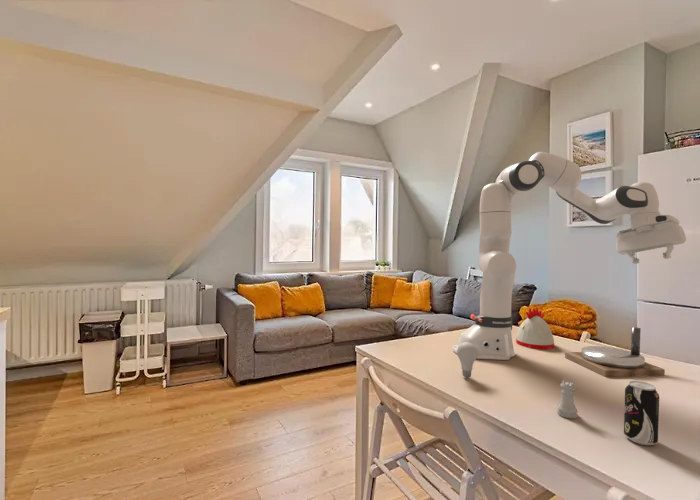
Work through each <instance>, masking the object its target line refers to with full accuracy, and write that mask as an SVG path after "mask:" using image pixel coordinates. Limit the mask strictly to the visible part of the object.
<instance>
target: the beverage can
mask: <svg viewBox="0 0 700 500" xmlns="http://www.w3.org/2000/svg"><path fill="white" fill-rule="evenodd" d="M623 411H624V414H623V416H624V417H623V435H624V436H625V437H626V438H628V439H629V440H630V441H631V442H633V443H636V444H639V445H642V446H646V447H647V446H648V447H649V446H653V445H657V444H658V442H659V419H660V394H659V393H658V391H657V388H656V386H655V385H654V384H651V383H648V382H646V381H645V382H644V381H639V380H630V381H628V385H626V387H625V389H624V410H623Z"/></svg>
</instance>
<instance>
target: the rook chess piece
mask: <svg viewBox="0 0 700 500" xmlns="http://www.w3.org/2000/svg"><path fill="white" fill-rule="evenodd" d="M559 385H560V387H561V391H560V392H561V398H560V402H559V404H557V407H556V409H557V410H556V412H557V414H558V415H559V416H561V417H562V418H566V419H568V420H569V419H572V420H573V419H576V418H577V417H578V416H579V415H578V408H576V405H575V402H574V401H575V400H574V395H575V392H574V390H576V386H575V384H574V382H573V381H569V380H561V383H560V384H559Z"/></svg>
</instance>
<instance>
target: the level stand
mask: <svg viewBox="0 0 700 500" xmlns="http://www.w3.org/2000/svg"><path fill="white" fill-rule="evenodd" d="M564 358H565V359H568V360H569V361H572V362H573V363H575V364H577V365H579V366H581V367H583V368H586V369H588V370H590V371H592V372H594V373H596V374H598V375H600V376H602V377H605V378H610V377H611V378H612V377H613V378H615V377H617V378H619V377H624V378H625V377H662V376H665V373H666V372H665V370H666V369H665V368H662V367H659V366H656V365H655V364H652V363H649V362H646V361H645V365H644V366H643V367H641V368H620V367H612V366H607V365H602V364H598V363H595V362H592V361H589V360H587V359H585V358H583V357H582V356H581V351H565V353H564Z"/></svg>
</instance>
